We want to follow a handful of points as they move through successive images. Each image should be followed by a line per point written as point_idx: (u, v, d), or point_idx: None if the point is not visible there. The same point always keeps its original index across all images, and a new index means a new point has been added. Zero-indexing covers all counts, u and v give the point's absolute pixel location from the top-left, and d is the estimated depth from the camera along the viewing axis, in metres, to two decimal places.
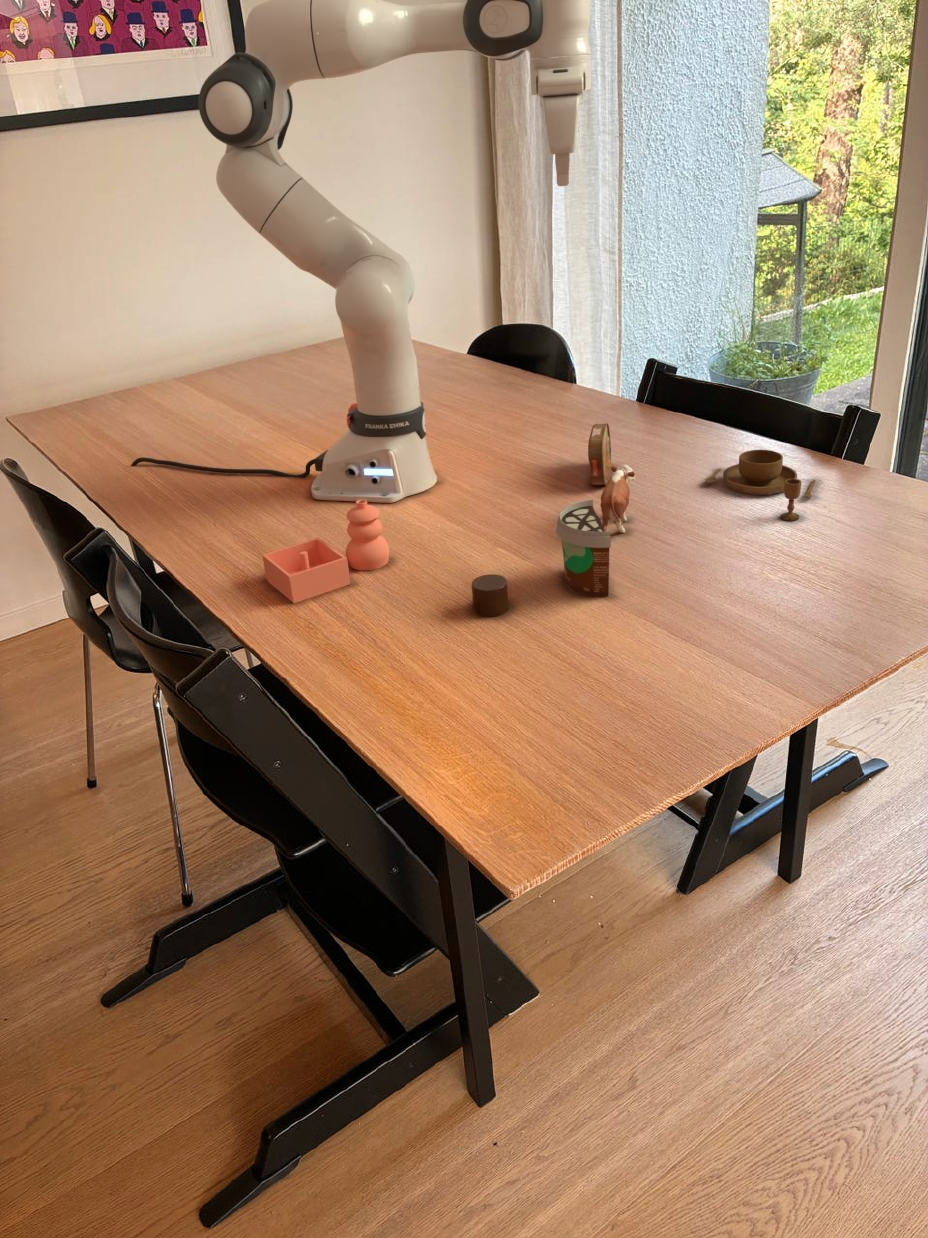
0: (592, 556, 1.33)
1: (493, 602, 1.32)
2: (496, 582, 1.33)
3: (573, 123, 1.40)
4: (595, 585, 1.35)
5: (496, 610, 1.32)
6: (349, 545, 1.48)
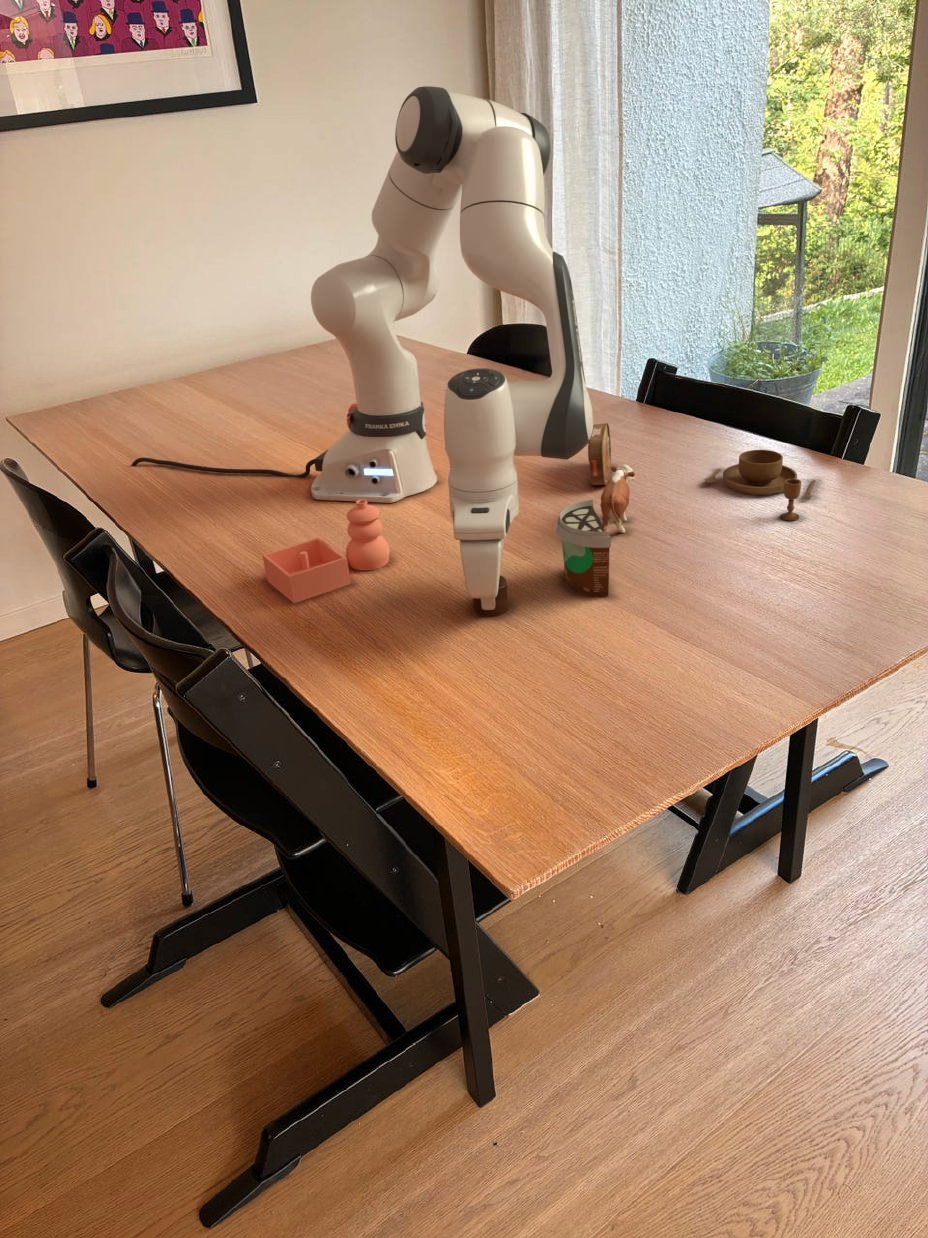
0: (592, 556, 1.33)
1: None
2: None
3: (494, 572, 1.21)
4: (595, 585, 1.35)
5: (496, 610, 1.33)
6: (349, 545, 1.48)
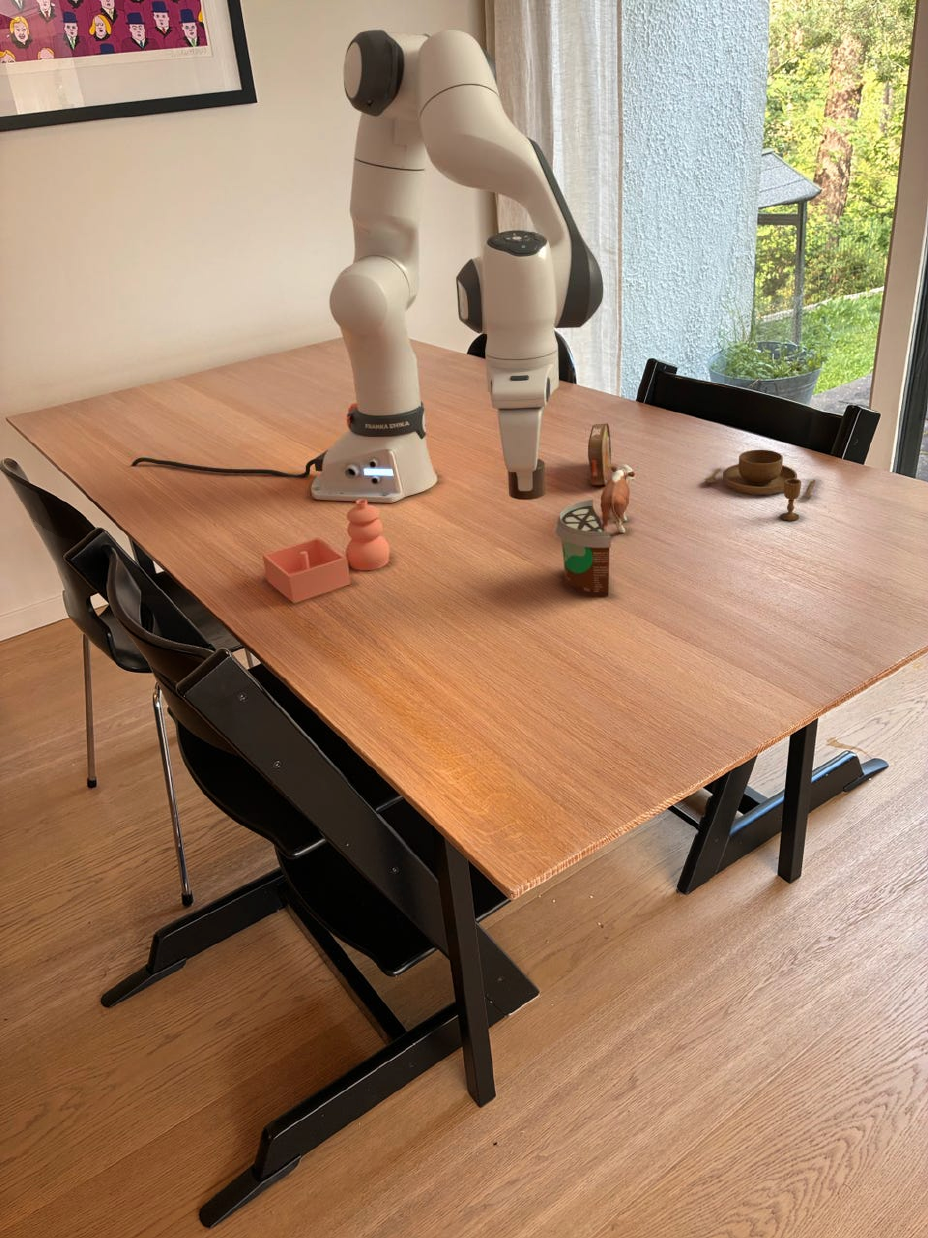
0: (592, 556, 1.33)
1: None
2: None
3: (533, 442, 1.16)
4: (595, 585, 1.35)
5: (532, 492, 1.27)
6: (349, 545, 1.48)
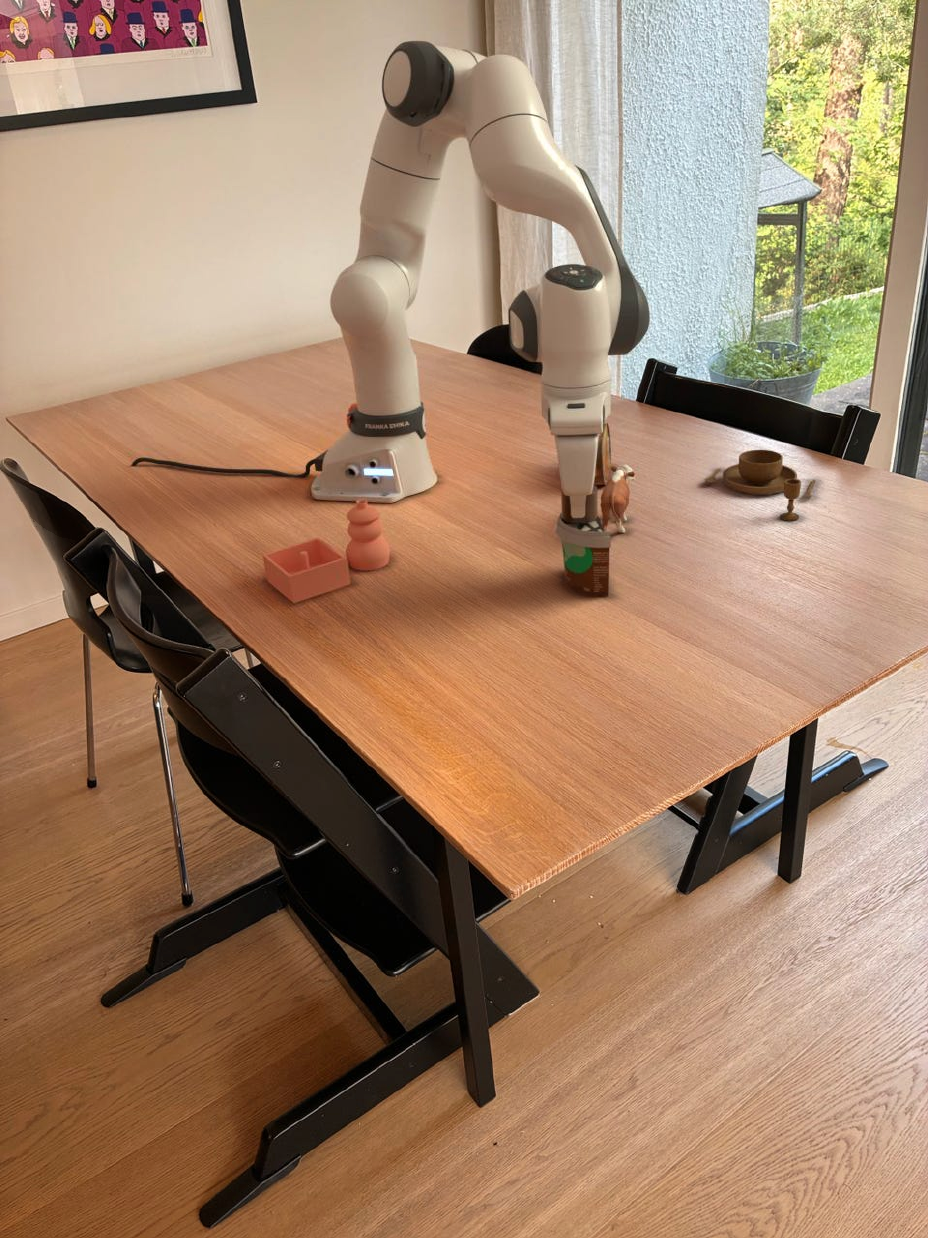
0: (592, 556, 1.33)
1: None
2: None
3: (590, 467, 1.21)
4: (595, 585, 1.35)
5: (586, 516, 1.32)
6: (349, 545, 1.48)
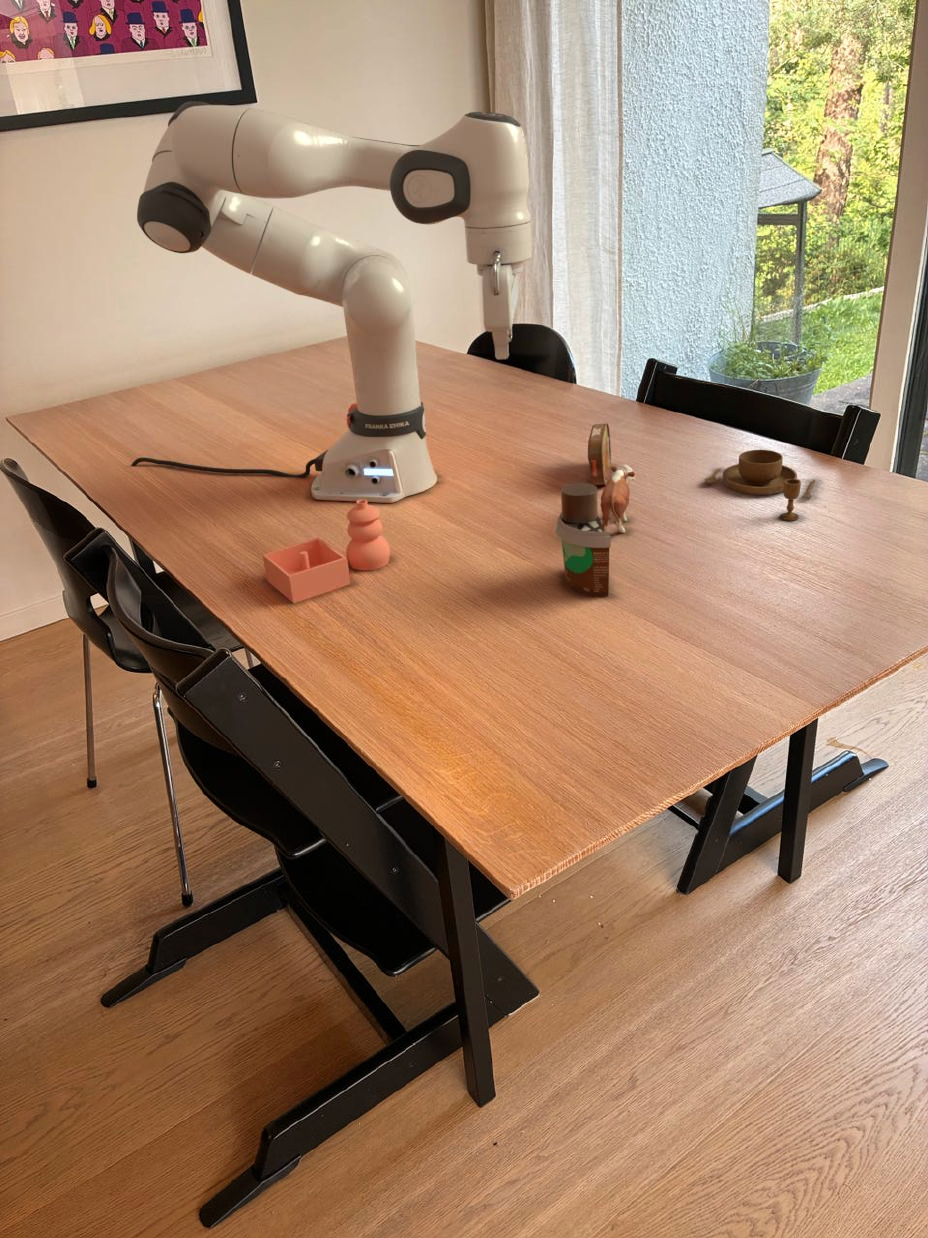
0: (592, 556, 1.33)
1: (584, 508, 1.32)
2: (586, 489, 1.33)
3: None
4: (595, 585, 1.35)
5: (586, 516, 1.32)
6: (349, 545, 1.48)
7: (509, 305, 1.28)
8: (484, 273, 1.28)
